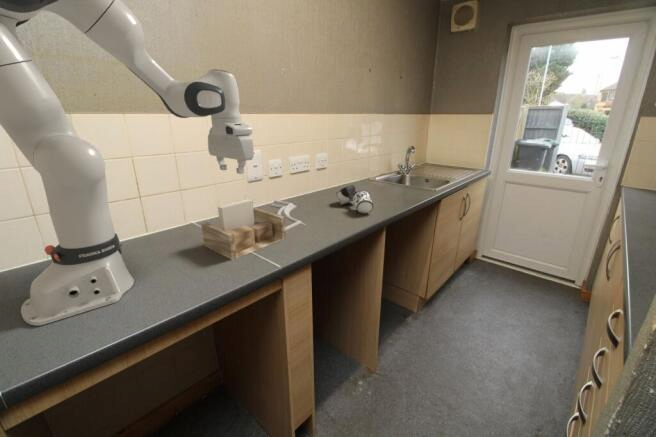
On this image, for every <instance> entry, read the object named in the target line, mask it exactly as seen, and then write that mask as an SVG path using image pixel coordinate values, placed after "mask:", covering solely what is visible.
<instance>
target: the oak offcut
mask: <svg viewBox="0 0 656 437" xmlns="http://www.w3.org/2000/svg"><path fill="white" fill-rule="evenodd" d="M228 232H230V233H233V234H234V241H235V251H236V253H238V252H240V251H243V250H245V249H248V248H251V247H253V246H255V236H254V229H253V228H250V227H247V226H242V227H238V228H235V229H232V230H229V231H228Z"/></svg>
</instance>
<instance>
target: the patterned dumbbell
mask: <svg viewBox="0 0 656 437" xmlns="http://www.w3.org/2000/svg"><path fill="white" fill-rule="evenodd" d="M335 194H336V197H337V199H338V201H339V203H340V204H339V205H341V206H344V205H347V204H349V203H351V202H353V203H354V205H355V208H356V212H357V213H358V214H360V215H367V214H370V213H371V212H372V210H374V202H373V201H372V199H371V196H370V193H369V192H368V191H366V190H359V191H358V190H356V187H355V185H354V184H352V185H347V186H345V187H343V188H341V189H340V190H339V191H337V192H336V193H335Z"/></svg>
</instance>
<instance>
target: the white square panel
mask: <svg viewBox="0 0 656 437" xmlns="http://www.w3.org/2000/svg"><path fill="white" fill-rule="evenodd" d="M253 208H254V201H253V199H250V198H247V199H243V200H239V201H236V202H230V203H228V204H227V203H226V204H223V205H219V206H217V212H218V218H219V226H220V227H219V228H221V229H223V230H226V231H229V230H232V229H235V228H238V227H242V226H247V227H250V226H253V225H255V224H254V211H253Z"/></svg>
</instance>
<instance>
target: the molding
mask: <svg viewBox="0 0 656 437" xmlns="http://www.w3.org/2000/svg"><path fill="white" fill-rule="evenodd" d="M269 206H270V207H273V208H277V209H278V210H277V212H276V214H278V215H281V216H284V217H285V220H289V221H290V222H293V223H291V224H288V225H287V226H285V232H286V231H287V230H289V229H292V228H294V227H296V226H298V225H299V224H302V225H305V226H306V223H304V222H302V220H299V219H296V218H293V217H291V215H290V213H291V212H292V210H294V209H296V208H297V205H295V204H294V203H292V202H288V201H282V200H276V199H274V201H273V203H271V204H269Z"/></svg>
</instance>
